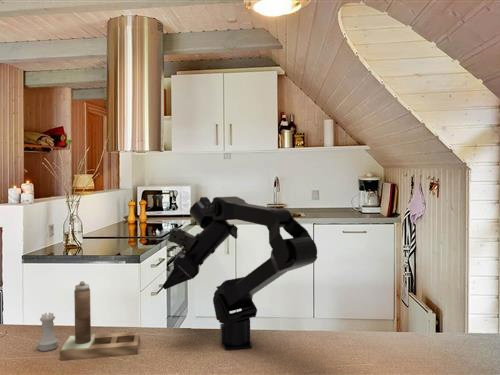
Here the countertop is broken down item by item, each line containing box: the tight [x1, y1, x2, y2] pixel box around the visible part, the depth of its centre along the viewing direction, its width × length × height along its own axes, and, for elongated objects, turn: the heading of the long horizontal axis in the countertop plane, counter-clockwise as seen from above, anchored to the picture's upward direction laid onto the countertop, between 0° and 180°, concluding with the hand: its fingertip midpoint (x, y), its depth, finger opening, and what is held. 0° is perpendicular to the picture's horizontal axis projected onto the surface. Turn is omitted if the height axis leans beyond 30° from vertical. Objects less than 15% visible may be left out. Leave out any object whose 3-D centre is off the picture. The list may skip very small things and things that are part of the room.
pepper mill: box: [73, 281, 92, 344], centre depth 98 cm, size 3×3×14 cm
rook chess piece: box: [37, 312, 59, 352], centre depth 100 cm, size 4×4×8 cm
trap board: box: [59, 331, 141, 361], centre depth 99 cm, size 16×9×2 cm, turn 101°
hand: (166, 283), depth 107 cm, fingers open, 9 cm apart
